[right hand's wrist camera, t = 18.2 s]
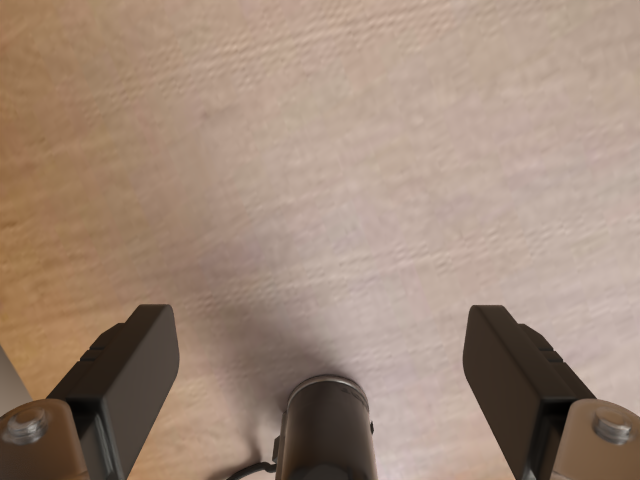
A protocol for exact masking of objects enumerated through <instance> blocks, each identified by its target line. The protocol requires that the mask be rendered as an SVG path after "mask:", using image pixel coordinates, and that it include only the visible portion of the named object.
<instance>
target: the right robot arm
mask: <svg viewBox="0 0 640 480" xmlns="http://www.w3.org/2000/svg"><path fill="white" fill-rule="evenodd" d="M178 368H179V348H178V341H177V334H176V327H175V320H174V313H173V309H172V307H171V306H170V305H168V304H142V305H139V306H138V307H137V308H136V310H135V311H134V312H133V313H132V315H131V316H130V317H129V318H128V320H127V321H126V322H125V323H118V324H116V325H115V326H113V327H112V328H110V329H108V330H107V331H105V332H104V333H102V334H101V335H100V336H99V337H98V338H97V339H96V341H95V342H94V343H93V344H92V345H91V346H90V349H89V350H87V351H86V352H85V353H84V355H83V356H82V357H81V358H80V361H77V363H76V364H75V365H74V366H73V367H72V368H71V370H70V371H69V372H68V373H67V374H66V375H65V377H64V378H63V379H62V380H61V381H60V382H59V384H58V385H57V386H56V387H55V388H54V389H53V391H52V392H51V393H50V394H49V395H48V396H47V398H46V399H41V400H36V401H32V402H29V403H26V404H23V405H21V406H19V407H16V408H15V409H13V410H11V411H9V412H7V413H6V414H4V415H3V416H1V417H0V480H127V478H128V476H129V474H130V471H131V469H132V467H133V465H134V463H135V461H136V459H137V457H138V455H139V453H140V451H141V449H142V447H143V445H144V443H145V440H146V438H147V436H148V434H149V432H150V430H151V428H152V426H153V424H154V422H155V420H156V418H157V416H158V414H159V412H160V409H161V407H162V405H163V403H164V401H165V399H166V397H167V395H168V393H169V391H170V389H171V387H172V385H173V383H174V381H175V378H176V376H177V373H178ZM463 368H464V373H465V376H466V379H467V381H468V383H469V385H470V387H471V389H472V391H473V393H474V395H475V397H476V399H477V401H478V403H479V405H480V407H481V410H482V412H483V414H484V416H485V418H486V420H487V422H488V424H489V426H490V428H491V430H492V432H493V434H494V436H495V438H496V440H497V442H498V444H499V446H500V448H501V450H502V452H503V454H504V456H505V459H506V461H507V463H508V465H509V467H510V469H511V471H512V473H513V475H514V477H515V479H516V480H640V417H639V416H637V415H636V414H634V413H633V412H631V411H629V410H627V409H625V408H624V407H621V406H619V405H617V404H614V403H611V402H608V401H604V400H599V399H597V398H596V397H595V396H594V395H593V394H592V392H591V391H590V390H589V389H588V388H587V387H586V385H585V384H584V383H583V382H582V381H581V380H580V379H579V377H578V376H577V375H576V374H575V373H574V372H573V370H572V369H571V368H570V367H569V366H568V365H567V364H566V362H563V359H562V358H561V357H560V355H559V354H558V353H557V352H556V351H554V350H553V347H552V346H551V345H550V344H549V343H548V342H547V341H546V339H545V338H544V337H543V336H542V335H541V334H539V333H538V332H536V331H535V330H533V329H531V328H530V327H528V326H527V325H525V324H518V323H517V322H516V321H515V320H514V318H513V317H512V316H511V315H510V313H509V312H508V311H507V310H506V308H505V307H504V306H502V305H473V306H472V307H471V308H470V311H469V316H468V323H467V329H466V336H465V343H464V350H463ZM373 431H374V429H373V423H372V422H371V425H370V419H369V406H368V400H367V397H366V395H365V393H364V392H363V390H362V389H361V388H360V387H359V386H358V385H356V384H355V383H354V382H352V381H350V380H348V379H346V378H343V377H339V376H333V375H324V376H317V377H314V378H311V379H308V380H306V381H304V382H303V383H301V384H300V385H298V386H297V387H296V388H295V389H294V391H293V392H292V394H291V395H290V397H289V400H288V405H287V411H286V412H285V413H283V415H282V424H281V432H280V436H278V437H277V438H276V439H275V441H274V449H273V457H272V461H273V462H275V463H276V464H273V465H270V464H269V463H267V462H262V463H258V464H255V465H252V466H250V467H248V468H245V469H243V470H241V471H239V472H237V473H236V474H234V475H232V476H231V477H229V478H228V479H226V480H239V479H241V478H243V477H245V476H247V475H249V474H252V473H254V472H257V471H261V470H265V471H267V472H269V473H273V472H276V477H275V480H378V474H377V468H376V461H375V454H374V447H373V440H372V434H373Z"/></svg>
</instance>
